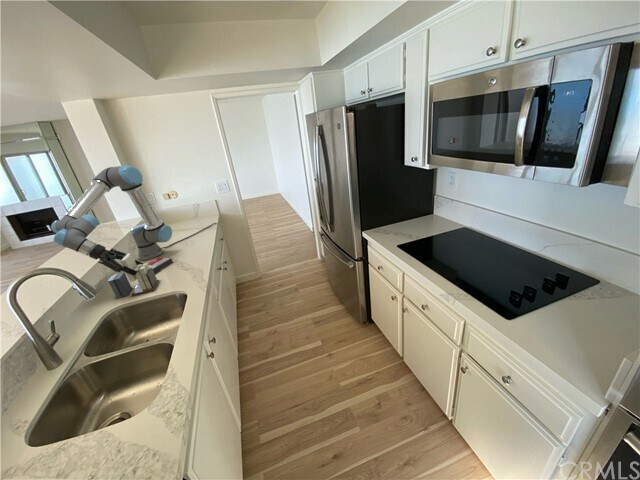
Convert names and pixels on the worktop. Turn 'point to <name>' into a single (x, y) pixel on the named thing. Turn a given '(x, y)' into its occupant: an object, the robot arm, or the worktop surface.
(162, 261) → the red and white box
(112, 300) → the worktop surface
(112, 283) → the grey books
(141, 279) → the bookstand
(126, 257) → the white book
